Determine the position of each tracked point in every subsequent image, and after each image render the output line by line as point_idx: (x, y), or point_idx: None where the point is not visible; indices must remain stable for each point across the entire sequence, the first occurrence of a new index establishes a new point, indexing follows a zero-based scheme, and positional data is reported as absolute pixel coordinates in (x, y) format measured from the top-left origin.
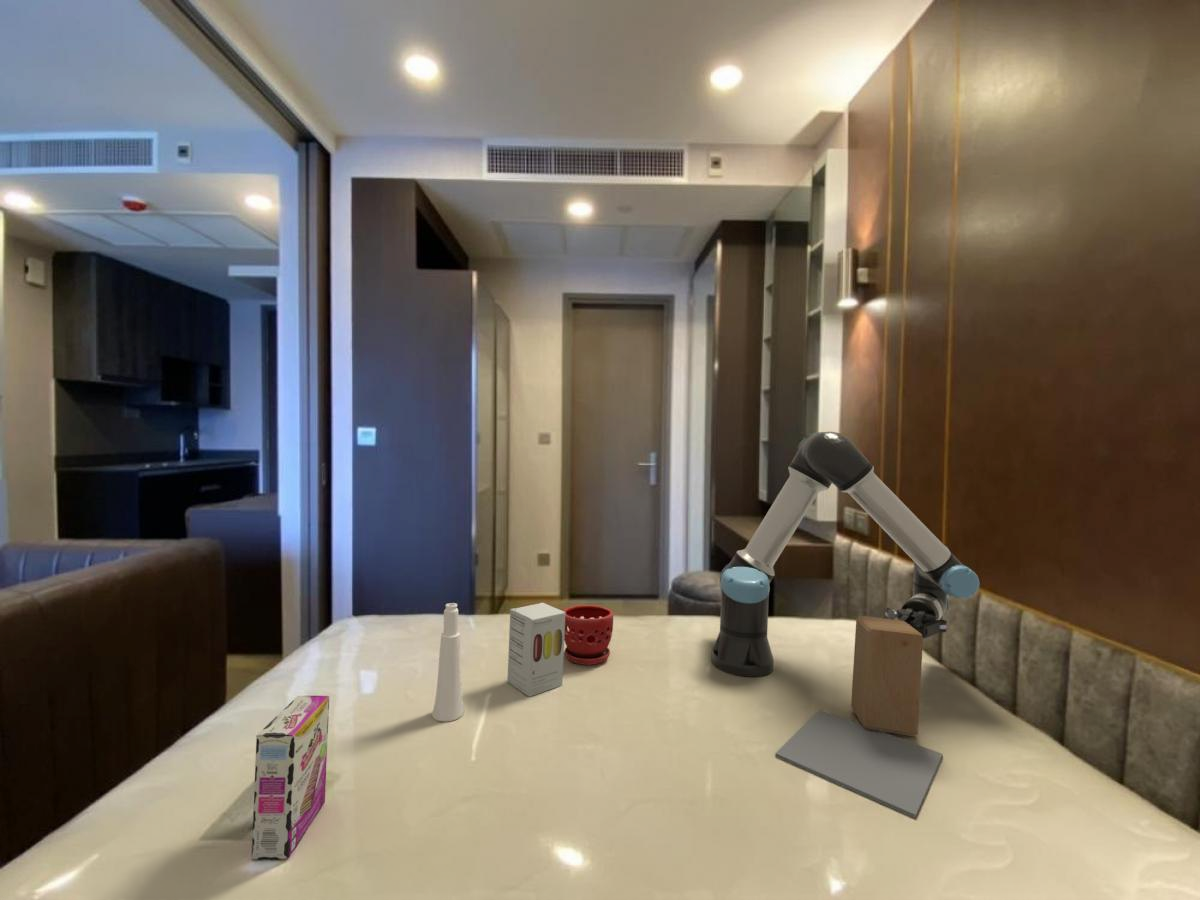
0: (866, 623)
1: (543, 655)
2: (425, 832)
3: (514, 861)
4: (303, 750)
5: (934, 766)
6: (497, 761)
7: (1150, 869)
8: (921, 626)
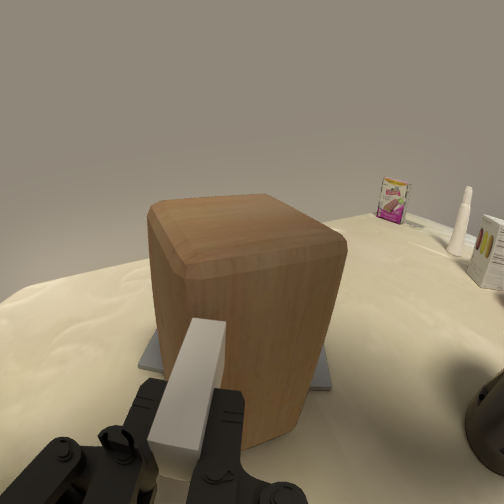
0: (290, 206)
1: (480, 248)
2: (369, 225)
3: (338, 225)
4: (387, 187)
5: (155, 336)
6: (403, 243)
7: (32, 293)
8: (72, 447)
